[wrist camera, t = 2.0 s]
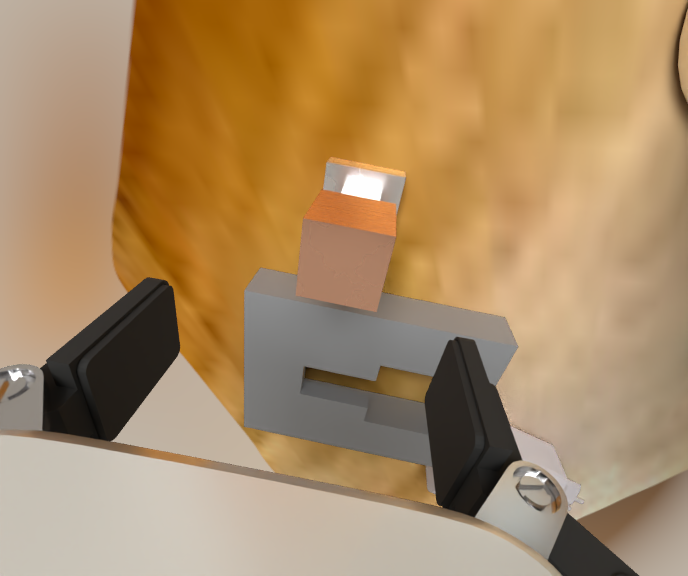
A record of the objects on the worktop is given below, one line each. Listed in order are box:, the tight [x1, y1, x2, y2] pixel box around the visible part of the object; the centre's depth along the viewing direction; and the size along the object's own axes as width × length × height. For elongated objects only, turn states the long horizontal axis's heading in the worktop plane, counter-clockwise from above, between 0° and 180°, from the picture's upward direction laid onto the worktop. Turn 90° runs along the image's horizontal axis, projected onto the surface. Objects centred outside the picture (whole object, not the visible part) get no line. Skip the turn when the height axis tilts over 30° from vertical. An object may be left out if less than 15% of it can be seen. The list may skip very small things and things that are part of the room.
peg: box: [296, 157, 406, 312], centre depth 20 cm, size 5×5×10 cm
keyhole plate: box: [244, 268, 518, 467], centre depth 30 cm, size 20×16×4 cm
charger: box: [426, 426, 584, 511], centre depth 35 cm, size 5×9×15 cm
